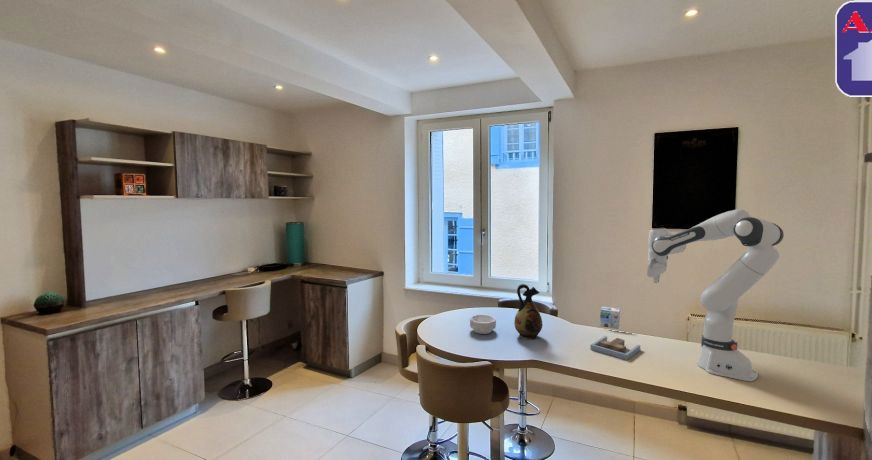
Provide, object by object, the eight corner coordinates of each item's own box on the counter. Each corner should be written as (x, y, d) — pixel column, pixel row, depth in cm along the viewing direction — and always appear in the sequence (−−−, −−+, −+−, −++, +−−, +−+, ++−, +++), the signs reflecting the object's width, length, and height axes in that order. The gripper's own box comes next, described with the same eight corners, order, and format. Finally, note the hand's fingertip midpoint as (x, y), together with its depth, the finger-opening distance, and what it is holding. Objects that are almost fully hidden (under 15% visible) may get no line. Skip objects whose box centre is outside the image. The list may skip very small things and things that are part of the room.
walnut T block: (632, 349, 208) (632, 342, 208) (622, 356, 200) (622, 348, 200) (609, 343, 217) (609, 335, 217) (598, 349, 209) (599, 341, 208)
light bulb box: (599, 326, 242) (600, 309, 241) (600, 323, 248) (601, 306, 247) (618, 329, 237) (619, 311, 236) (619, 325, 243) (620, 308, 242)
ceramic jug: (539, 331, 235) (540, 281, 231) (544, 342, 219) (545, 288, 216) (510, 331, 236) (510, 281, 233) (512, 341, 221) (513, 288, 218)
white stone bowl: (497, 335, 229) (497, 322, 228) (470, 336, 230) (470, 322, 229) (494, 326, 244) (494, 314, 244) (469, 326, 245) (469, 314, 244)
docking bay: (640, 350, 207) (640, 345, 207) (626, 360, 195) (627, 355, 195) (604, 340, 220) (605, 336, 220) (590, 349, 209) (590, 344, 208)
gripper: (657, 260, 208) (656, 287, 209) (669, 255, 222) (668, 280, 223) (644, 259, 212) (643, 285, 213) (656, 254, 226) (656, 278, 228)
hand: (656, 282), depth 218 cm, fingers closed
